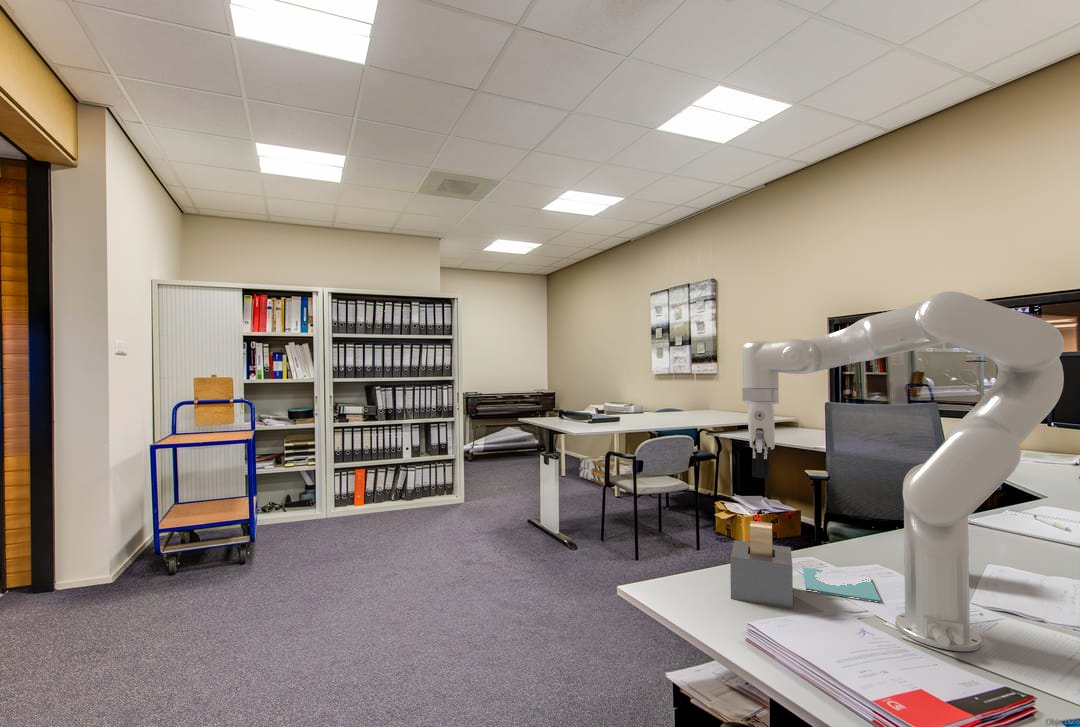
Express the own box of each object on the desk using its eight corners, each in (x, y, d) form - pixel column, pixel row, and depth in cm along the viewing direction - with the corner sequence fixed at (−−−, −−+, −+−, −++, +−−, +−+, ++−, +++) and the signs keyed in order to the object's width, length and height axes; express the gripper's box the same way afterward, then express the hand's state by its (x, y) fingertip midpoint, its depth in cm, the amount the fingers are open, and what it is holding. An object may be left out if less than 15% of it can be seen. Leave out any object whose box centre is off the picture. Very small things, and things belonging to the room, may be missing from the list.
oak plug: (772, 579, 110) (772, 528, 110) (750, 576, 112) (750, 526, 112) (772, 572, 114) (772, 523, 114) (751, 569, 116) (750, 520, 116)
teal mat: (880, 603, 108) (880, 600, 108) (806, 591, 114) (806, 588, 114) (869, 579, 120) (869, 576, 120) (802, 569, 126) (802, 567, 126)
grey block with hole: (792, 609, 105) (792, 565, 105) (730, 598, 110) (730, 556, 110) (790, 587, 116) (790, 547, 116) (734, 578, 121) (734, 540, 121)
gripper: (778, 398, 105) (779, 482, 104) (778, 395, 120) (779, 468, 120) (739, 397, 108) (740, 479, 107) (744, 395, 123) (745, 465, 123)
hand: (760, 473), depth 114 cm, fingers open, 9 cm apart
